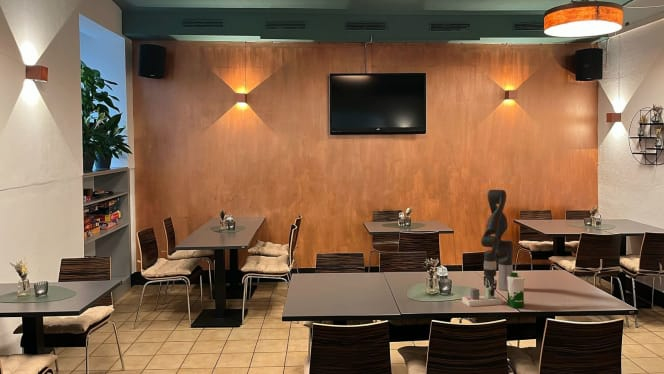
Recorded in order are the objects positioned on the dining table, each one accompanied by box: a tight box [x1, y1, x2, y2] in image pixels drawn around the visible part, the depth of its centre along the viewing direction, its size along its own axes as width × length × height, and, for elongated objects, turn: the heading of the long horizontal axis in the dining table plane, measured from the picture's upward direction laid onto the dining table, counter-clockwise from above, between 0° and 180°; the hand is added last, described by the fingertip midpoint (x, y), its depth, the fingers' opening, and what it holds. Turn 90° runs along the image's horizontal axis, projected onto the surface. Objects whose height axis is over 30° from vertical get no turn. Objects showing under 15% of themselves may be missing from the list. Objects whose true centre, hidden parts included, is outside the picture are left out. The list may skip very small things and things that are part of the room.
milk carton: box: [507, 272, 525, 309], centre depth 340 cm, size 9×9×20 cm
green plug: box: [485, 287, 494, 299], centre depth 351 cm, size 4×4×9 cm
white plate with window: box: [461, 287, 504, 307], centre depth 350 cm, size 22×11×9 cm, turn 99°
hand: (490, 294), depth 351 cm, fingers open, 6 cm apart
